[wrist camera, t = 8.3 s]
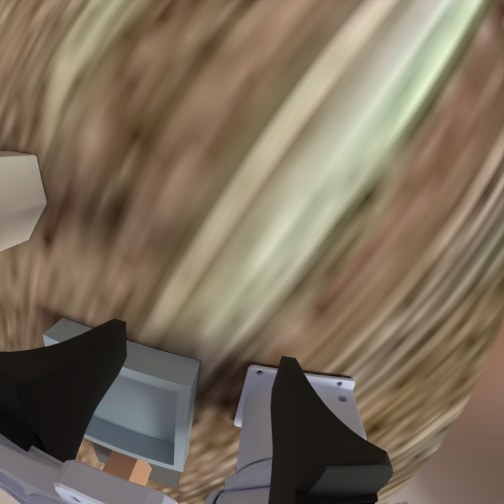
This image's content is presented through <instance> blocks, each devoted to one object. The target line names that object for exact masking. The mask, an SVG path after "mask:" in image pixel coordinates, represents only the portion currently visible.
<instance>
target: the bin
mask: <svg viewBox="0 0 504 504" xmlns="http://www.w3.org/2000/svg"><path fill="white" fill-rule="evenodd" d="M91 329H92V328H90V327H87V326H84V325H81V324H79V323H76V322H74V321H71V320H68V319H66V318H62V319H61V320H59V321H58V322H57V323H56V324H55V325H53V326H52V327H51V328H50V329H49V330H47V331H46V332H45V333H44V334H43V339H44V344H45V347H46V346H50V345H53V344H57V343H60V342H63V341H66V340H68V339H70V338H73V337H75V336H78V335H80V334H83V333H85V332H87V331H89V330H91ZM126 341H127V358H126V360H125V362H124V365H123V367H122V369H121V371H120V373H119V374H118V376H117V377H116V379H115V381H114V382H113V384H112V385H111V387H110V388H109V390H108V391H107V393H106V394H105V396H104V397H103V399H102V400H101V402H100V403H99V405H98V407H97V408H96V410H95V412H94V414H93V416H92V418H91V420H90V423H89V425H88V427H87V429H86V432H85V434H84V438H86V439H88V440H90V441H93V442H95V443H97V444H99V445H102V446H104V447H107V448H109V449H112V450H114V451H117V452H119V453H122V454H125V455H128V456H130V457H133V458H136V459H139V460H142V461H145V462H148V463H151V464H155V465H158V466H161V467H165V468H168V469H172V470H176V471H179V472H183V470H184V466H185V463H186V459H187V455H188V452H189V446H190V438H191V429H192V421H193V413H194V405H195V397H196V390H197V382H198V375H199V368H200V360H195V359H191V358H187V357H183V356H180V355H176V354H172V353H168V352H165V351H161V350H158V349H154V348H151V347H147V346H144V345H141V344H137V343H134V342H131V341H128V340H126Z"/></svg>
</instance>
